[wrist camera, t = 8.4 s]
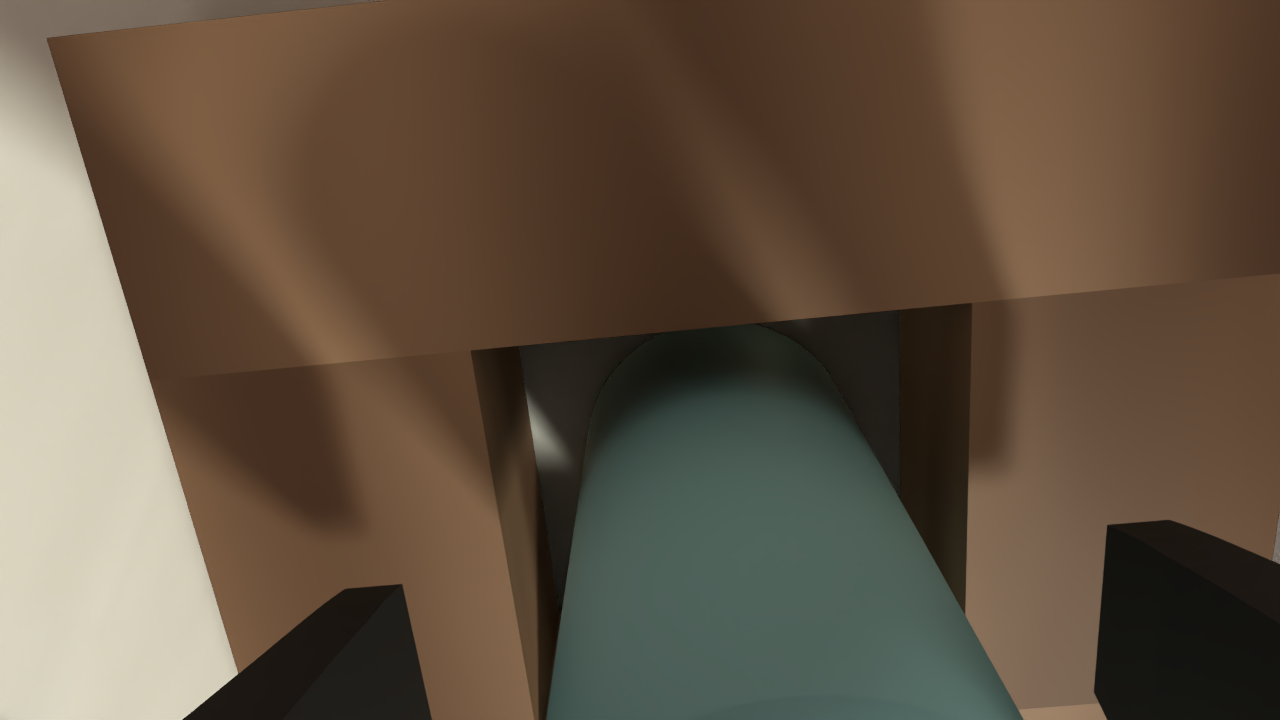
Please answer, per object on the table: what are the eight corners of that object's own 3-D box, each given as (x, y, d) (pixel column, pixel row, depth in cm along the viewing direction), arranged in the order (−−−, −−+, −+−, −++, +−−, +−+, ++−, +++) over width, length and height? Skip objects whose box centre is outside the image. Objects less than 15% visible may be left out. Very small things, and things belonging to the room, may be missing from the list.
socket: (1192, -70, 11) (1373, -109, 8) (1115, 747, 16) (1219, 903, 13) (189, 39, 12) (46, 38, 9) (382, 803, 16) (326, 964, 13)
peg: (842, 306, 13) (1117, 666, 5) (853, 544, 14) (1084, 1100, 7) (570, 335, 13) (470, 725, 6) (606, 569, 14) (562, 1139, 7)
